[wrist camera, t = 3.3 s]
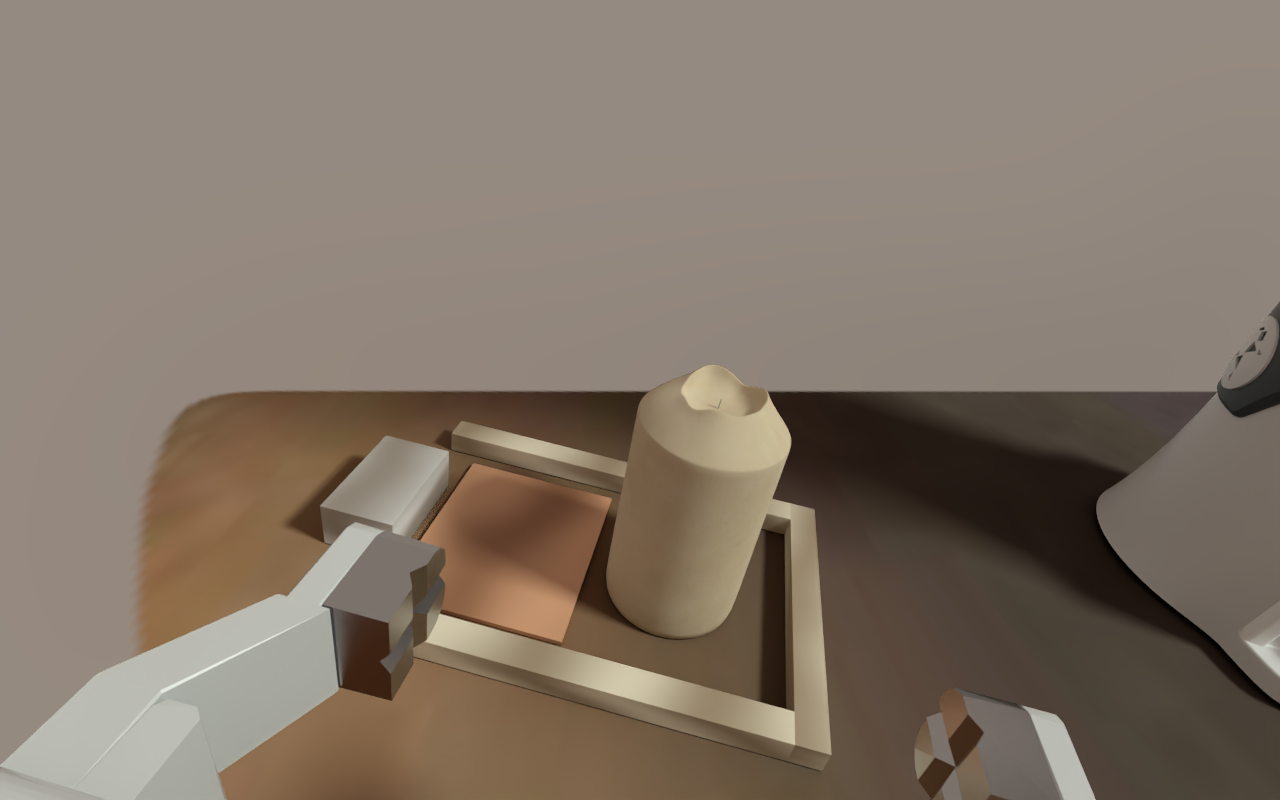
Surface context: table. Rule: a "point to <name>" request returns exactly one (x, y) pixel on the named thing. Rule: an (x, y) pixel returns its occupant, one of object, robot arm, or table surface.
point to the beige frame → (572, 586)
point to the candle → (693, 501)
